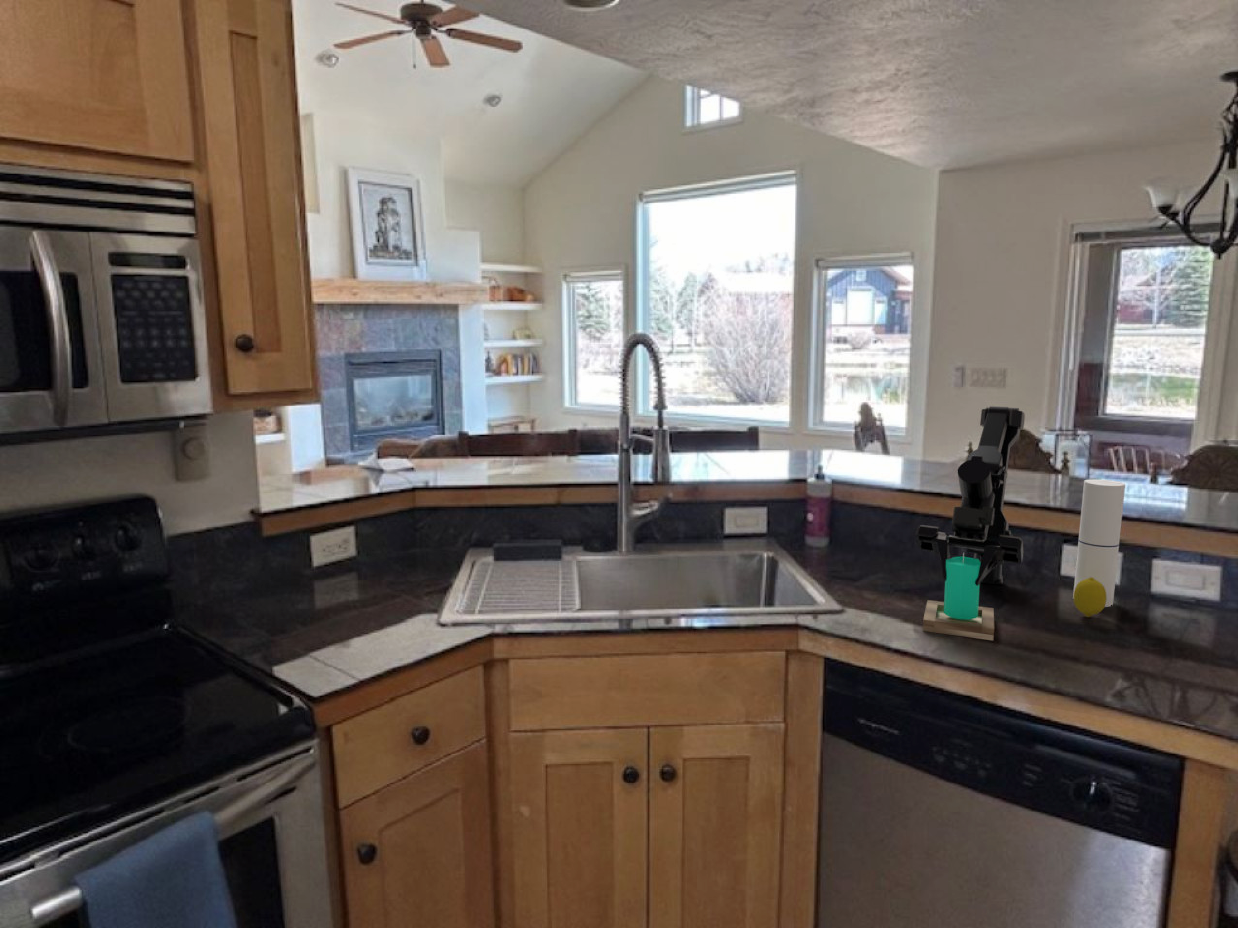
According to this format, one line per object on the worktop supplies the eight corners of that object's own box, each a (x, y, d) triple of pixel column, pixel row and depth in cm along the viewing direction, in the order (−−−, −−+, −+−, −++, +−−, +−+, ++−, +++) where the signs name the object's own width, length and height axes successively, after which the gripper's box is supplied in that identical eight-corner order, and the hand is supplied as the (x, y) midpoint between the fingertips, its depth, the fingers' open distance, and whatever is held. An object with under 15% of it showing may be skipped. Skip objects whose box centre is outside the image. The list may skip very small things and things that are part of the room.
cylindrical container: (1075, 604, 165) (1087, 484, 161) (1070, 593, 172) (1081, 478, 168) (1115, 608, 162) (1128, 486, 158) (1109, 598, 169) (1121, 480, 165)
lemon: (1095, 612, 160) (1099, 573, 159) (1109, 622, 155) (1113, 582, 154) (1066, 611, 161) (1070, 572, 160) (1079, 621, 155) (1083, 581, 154)
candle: (967, 607, 157) (970, 547, 155) (984, 618, 151) (987, 556, 149) (937, 609, 156) (940, 549, 154) (953, 620, 150) (956, 557, 148)
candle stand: (926, 610, 162) (927, 600, 161) (992, 619, 157) (993, 608, 156) (922, 630, 151) (923, 619, 150) (993, 640, 146) (994, 628, 146)
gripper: (920, 484, 158) (903, 552, 151) (1026, 495, 148) (1013, 568, 141) (927, 515, 166) (911, 581, 158) (1028, 527, 156) (1015, 598, 148)
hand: (960, 582), depth 151 cm, fingers closed on candle, 5 cm apart
